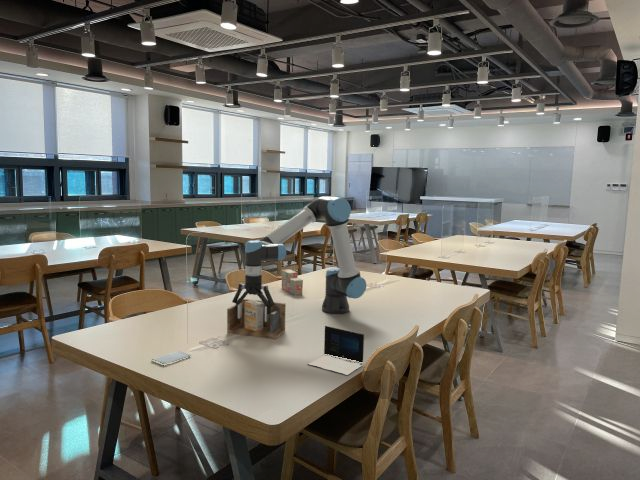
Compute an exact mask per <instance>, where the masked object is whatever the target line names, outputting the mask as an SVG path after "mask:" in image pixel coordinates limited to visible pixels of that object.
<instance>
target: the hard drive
mask: <svg viewBox="0 0 640 480" xmlns="http://www.w3.org/2000/svg"><path fill="white" fill-rule="evenodd" d="M190 356H191V357H192V354H189V353H187V352H185V351H181V350H175V351H173V352H170V353H167V354H164V355H161V356H158V357H155V358H152V359H151V361H152V360H155V361H158V362H160V363H162V364H167V363H170V362H174V361H177V360H180V359H183V358H186V357H190ZM191 357H190V358H191Z"/></svg>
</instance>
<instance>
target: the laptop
mask: <svg viewBox="0 0 640 480" xmlns="http://www.w3.org/2000/svg"><path fill="white" fill-rule="evenodd" d="M323 342H324V344H323V345H324V348H323V353H324V354H327V355H328V354H329V355H333V356H338V357H342V358H347V359H351V360H356V361H359V362H363V363H364V351H365V349H364V348H365V334H364V333H360V332H356V331H353V330H352V331H351V330H347V329H341V328H338V327H333V326H328V325H324V341H323ZM324 354H323V355H324ZM359 362H358V363H359Z"/></svg>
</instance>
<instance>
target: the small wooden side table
mask: <svg viewBox="0 0 640 480" xmlns="http://www.w3.org/2000/svg"><path fill="white" fill-rule="evenodd" d="M248 300H250V299H247V298H244V299H243V300H242V301H241V304H242V317H241V318H239V319H238V311H236V303H234V304H233V305H231V306H229V307H228V308H227V309H226V314H227V315H226V317H227V318H226V319H227V323H226V326H227V327H226V332H227V334H232V335H241V336H242V335H243V336H248V337H255V338H263V339H271V340H276V339H278V338H279V337H280V336H281V335H282V334H284V333H285V332H286V302H278V301H277V302H276V301H273V302H274V304H275V305H274V306H272V307H271V311H270V314H269V320H268V321H267V322H265V308H266V306H265V304H264V312H263V330H261V331H258V332H255V331H252V330H249V329H245V328H244V317H245V301H248ZM253 300H254V301H258V302H261V303H263V301H262V300H257V299H256V300H255V299H253Z"/></svg>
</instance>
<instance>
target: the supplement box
mask: <svg viewBox="0 0 640 480" xmlns="http://www.w3.org/2000/svg"><path fill="white" fill-rule="evenodd" d="M254 300H255V299H249V300H248V301H245V317H244V328H245V329H249V330H252V331H255V332H258V331H261V330H263V312H264V303H261V302H258V301H254Z"/></svg>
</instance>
